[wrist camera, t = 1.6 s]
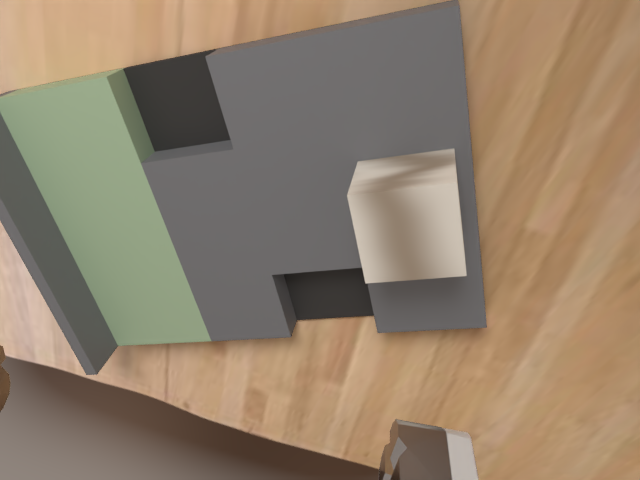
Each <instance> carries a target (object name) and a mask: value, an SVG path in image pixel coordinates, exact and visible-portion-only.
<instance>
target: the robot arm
mask: <svg viewBox="0 0 640 480" xmlns="http://www.w3.org/2000/svg"><path fill="white" fill-rule="evenodd" d="M5 359H6V357H5V353H4V349H3V346H0V412H1V410H2V409H3V407H4V405H5V403H6V400H7V398H8V395H9V392H10V391H9V390H10V377H9V374H8V373H7V372H6V371H5V369H4V368H3V367H2V366H1V363H2V362H3V361H4V360H5ZM379 480H479V478H478V473H477V467H476V462H475V456H474V451H473V445H472V440H471V437H470V435H469V433H467V432H462V431H456V430H451V429H446V428H442V427H436V426H430V425H425V424H419V423H414V422H408V421H402V420H397V419H395V421H394V422H393V424H392V427H391V430H390V443H389V444H387V445H385V447H384V451H383V454H382V457H381V463H380V468H379Z"/></svg>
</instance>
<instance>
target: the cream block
mask: <svg viewBox="0 0 640 480" xmlns="http://www.w3.org/2000/svg"><path fill="white" fill-rule="evenodd" d="M347 198H348V203H349V208H350V212H351V217H352V222H353V227H354V231H355V236H356V241H357V246H358V251H359V255H360V260H361V265H362V270H363V274H364V279H365V284H366V283H380V282H393V281H406V280H420V279H433V278H447V277H460V276H467V274H466V263H465V251H464V240H463V230H462V220H461V210H460V200H459V190H458V180H457V170H456V160H455V150H454V148H453V149H446V150H439V151H431V152H424V153H416V154H409V155H402V156H394V157H387V158H380V159H372V160H365V161H358V162H357V165H356V169H355V172H354V175H353V178H352V181H351V184H350V188H349V191H348V194H347Z"/></svg>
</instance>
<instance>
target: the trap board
mask: <svg viewBox="0 0 640 480" xmlns="http://www.w3.org/2000/svg"><path fill="white" fill-rule="evenodd" d="M453 148H454V150H455V160H456V170H457V180H458V190H459V200H460V210H461V220H462V230H463V240H464V251H465V263H466V274H467V276H460V277H447V278H433V279H420V280H406V281H393V282H380V283H366V284H365V279H364V274H363V270H362V265H361V260H360V255H359V251H358V246H357V241H356V236H355V231H354V227H353V222H352V217H351V212H350V208H349V203H348V198H347V194H348V191H349V188H350V184H351V181H352V178H353V175H354V172H355V169H356V165H357V162H358V161H365V160H372V159H380V158H387V157H394V156H402V155H409V154H416V153H424V152H431V151H439V150H446V149H453ZM0 221H1V223H2V224H3V226H4V228H5V230H6V232H7V233H8V235H9V237H10V239H11V240H12V242H13V244H14V246H15V248H16V249H17V251H18V253H19V255H20V257H21V258H22V260H23V262H24V264H25V265H26V267H27V269H28V271H29V273H30V274H31V276H32V278H33V280H34V282H35V283H36V285H37V287H38V289H39V291H40V292H41V294H42V296H43V298H44V299H45V301H46V303H47V305H48V307H49V308H50V310H51V312H52V314H53V316H54V317H55V319H56V321H57V323H58V325H59V326H60V328H61V330H62V332H63V333H64V335H65V337H66V339H67V341H68V342H69V344H70V346H71V348H72V350H73V351H74V353H75V355H76V357H77V358H78V360H79V362H80V364H81V366H82V367H83V369H84V371H85V373H86V375H94V374H98V372H99V371H100V370H101V368H102V367H103V366H104V364H105V363H106V361H107V360H108V359H109V357H110V356H111V355H112V353H113V352H114V351H115V349H116V348H117V347H118V346H125V345H145V344H165V343H185V342H205V341H225V340H245V339H265V338H286V337H291V336H292V333H293V330H294V327H295V324H296V321H297V320H303V319H320V318H337V317H355V316H372V315H374V318H375V322H376V327H377V332H378V333H386V332H406V331H426V330H446V329H466V328H487V325H486V313H485V301H484V290H483V278H482V266H481V254H480V243H479V231H478V219H477V207H476V195H475V184H474V172H473V160H472V148H471V137H470V125H469V113H468V101H467V90H466V78H465V66H464V54H463V43H462V31H461V19H460V7H459V2H458V0H452V1H447V2H442V3H438V4H433V5H428V6H423V7H418V8H413V9H408V10H403V11H399V12H394V13H389V14H384V15H379V16H374V17H369V18H365V19H360V20H355V21H350V22H345V23H340V24H335V25H331V26H326V27H321V28H316V29H311V30H306V31H301V32H296V33H292V34H287V35H282V36H277V37H272V38H267V39H262V40H258V41H253V42H248V43H243V44H238V45H233V46H228V47H224V48H219V49H214V50H209V51H204V52H199V53H194V54H189V55H185V56H180V57H175V58H170V59H165V60H160V61H155V62H151V63H146V64H141V65H136V66H131V67H126V68H121V69H117V70H112V71H107V72H102V73H97V74H92V75H87V76H82V77H78V78H73V79H68V80H63V81H58V82H53V83H48V84H44V85H39V86H34V87H29V88H24V89H19V90H14V91H9V92H6V93H3V94H1V95H0Z"/></svg>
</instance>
